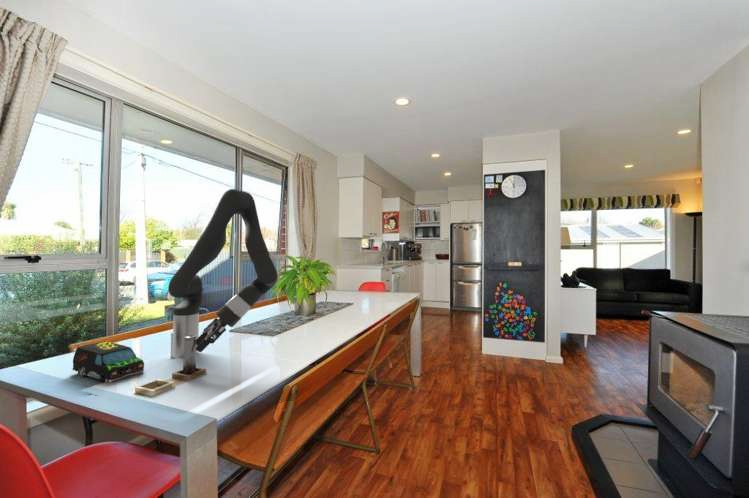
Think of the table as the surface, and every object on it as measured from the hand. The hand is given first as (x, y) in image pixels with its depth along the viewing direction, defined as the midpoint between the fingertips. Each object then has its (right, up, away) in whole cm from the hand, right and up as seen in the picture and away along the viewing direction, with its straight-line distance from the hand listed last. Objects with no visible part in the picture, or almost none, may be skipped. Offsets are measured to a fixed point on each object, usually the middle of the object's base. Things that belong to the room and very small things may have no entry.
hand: (196, 347), depth 111 cm
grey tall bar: (-2, -9, -1) cm, 9 cm away
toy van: (-31, -11, +2) cm, 33 cm away
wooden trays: (-4, -10, -7) cm, 13 cm away
